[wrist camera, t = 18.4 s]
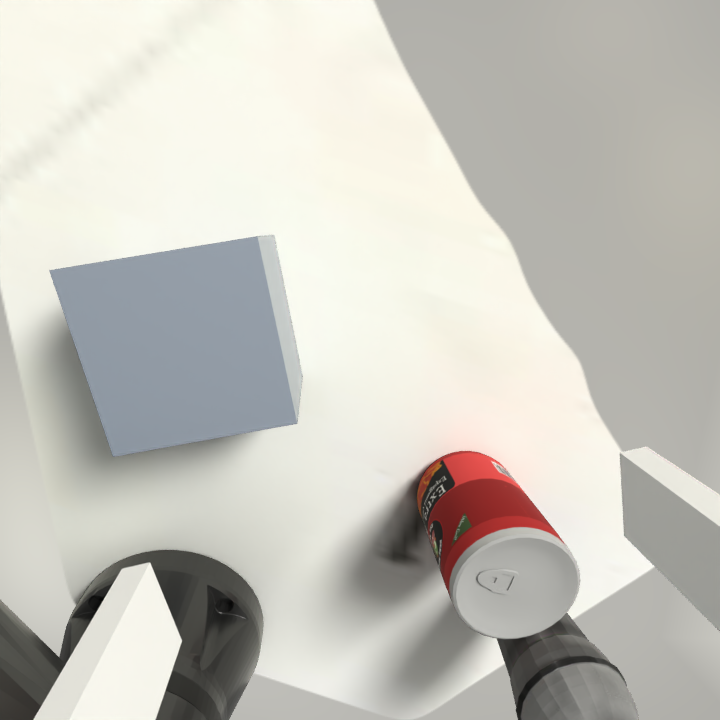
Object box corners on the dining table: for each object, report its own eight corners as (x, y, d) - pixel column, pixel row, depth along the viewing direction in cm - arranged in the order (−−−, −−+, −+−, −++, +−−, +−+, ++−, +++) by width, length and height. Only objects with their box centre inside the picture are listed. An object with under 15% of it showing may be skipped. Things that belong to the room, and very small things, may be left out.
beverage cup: (453, 603, 41) (571, 931, 22) (474, 533, 39) (624, 823, 20) (529, 611, 42) (707, 932, 23) (553, 543, 40) (769, 829, 21)
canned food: (417, 447, 37) (458, 535, 26) (514, 447, 37) (592, 532, 27) (411, 531, 39) (446, 644, 28) (503, 529, 39) (571, 638, 29)
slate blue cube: (302, 376, 34) (297, 423, 26) (164, 400, 34) (113, 456, 25) (273, 235, 31) (257, 236, 23) (123, 259, 31) (49, 270, 22)
